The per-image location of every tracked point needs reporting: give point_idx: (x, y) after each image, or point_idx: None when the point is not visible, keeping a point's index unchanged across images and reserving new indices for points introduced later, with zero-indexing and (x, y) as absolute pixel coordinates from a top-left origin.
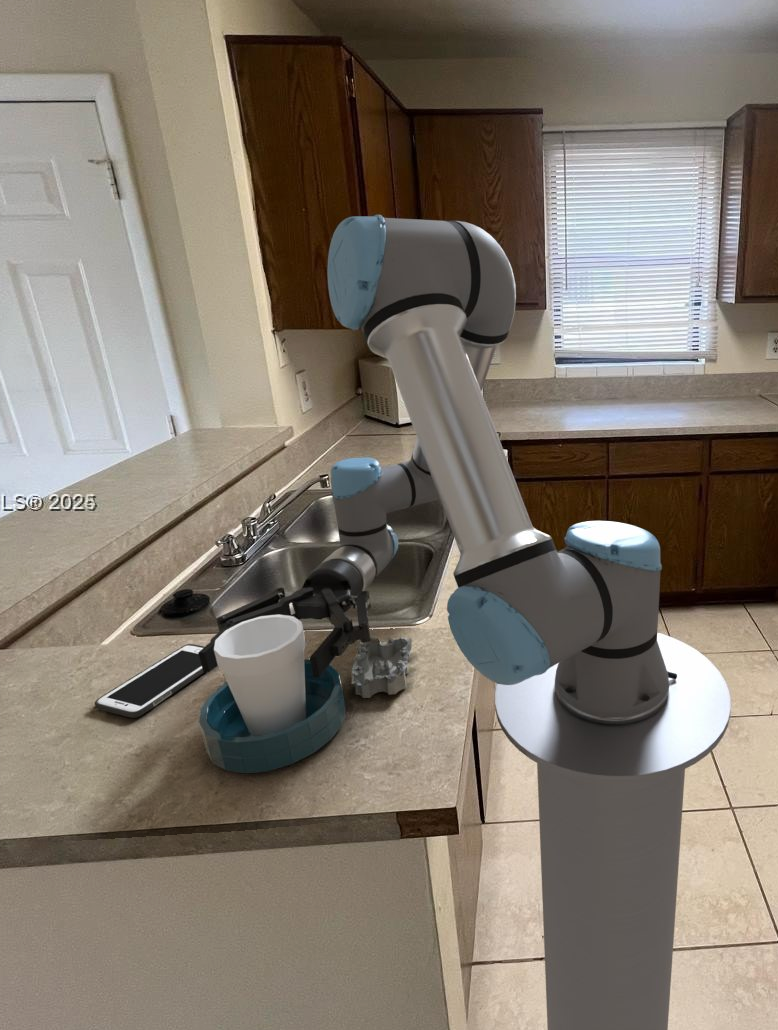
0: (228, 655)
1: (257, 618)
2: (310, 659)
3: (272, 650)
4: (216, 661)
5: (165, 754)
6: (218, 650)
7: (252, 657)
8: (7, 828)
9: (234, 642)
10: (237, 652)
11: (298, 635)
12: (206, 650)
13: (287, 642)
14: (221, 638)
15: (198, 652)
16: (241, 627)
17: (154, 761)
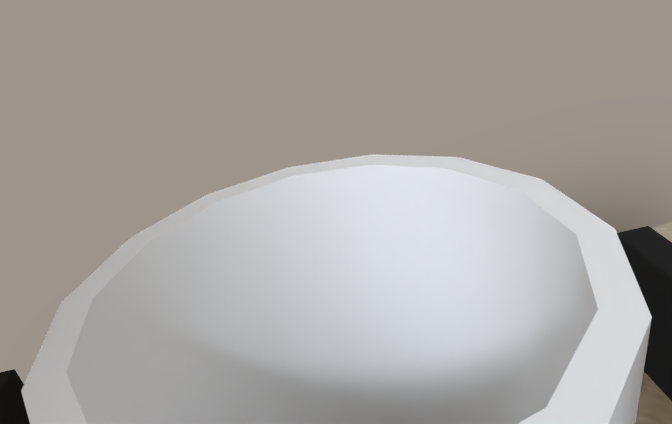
0: (347, 162)
1: (578, 398)
2: (16, 379)
3: (160, 229)
4: (650, 359)
5: (653, 417)
6: (429, 162)
7: (231, 188)
8: (666, 231)
9: (563, 317)
10: (552, 372)
11: (44, 345)
12: (628, 242)
13: (97, 278)
14: (529, 193)
15: (648, 227)
16: (589, 308)
17: (645, 392)
